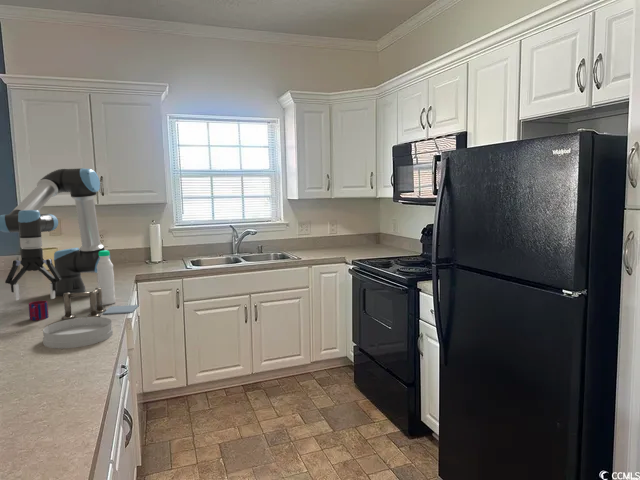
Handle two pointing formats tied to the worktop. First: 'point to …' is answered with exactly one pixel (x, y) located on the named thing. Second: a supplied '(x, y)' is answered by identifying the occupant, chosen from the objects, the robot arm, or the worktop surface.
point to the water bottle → (106, 278)
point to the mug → (38, 310)
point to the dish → (77, 332)
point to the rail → (95, 303)
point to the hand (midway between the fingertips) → (35, 299)
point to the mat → (121, 309)
